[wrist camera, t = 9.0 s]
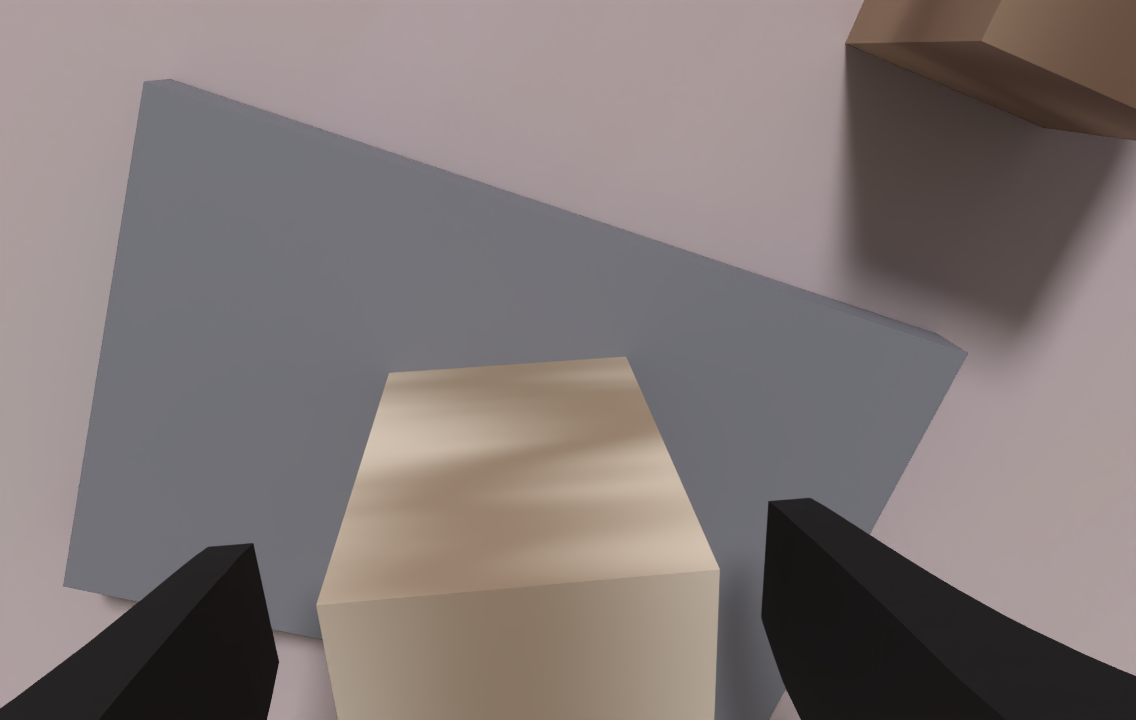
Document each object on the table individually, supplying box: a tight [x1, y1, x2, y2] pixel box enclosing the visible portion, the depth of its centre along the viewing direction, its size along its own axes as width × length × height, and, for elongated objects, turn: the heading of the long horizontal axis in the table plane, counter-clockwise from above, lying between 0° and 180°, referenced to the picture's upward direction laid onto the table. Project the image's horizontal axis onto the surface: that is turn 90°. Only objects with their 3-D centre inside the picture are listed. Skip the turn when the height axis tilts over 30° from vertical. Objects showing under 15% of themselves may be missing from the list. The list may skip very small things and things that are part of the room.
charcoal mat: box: [63, 79, 968, 720], centre depth 15 cm, size 14×9×1 cm, turn 71°
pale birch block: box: [316, 357, 720, 720], centre depth 11 cm, size 4×4×6 cm
